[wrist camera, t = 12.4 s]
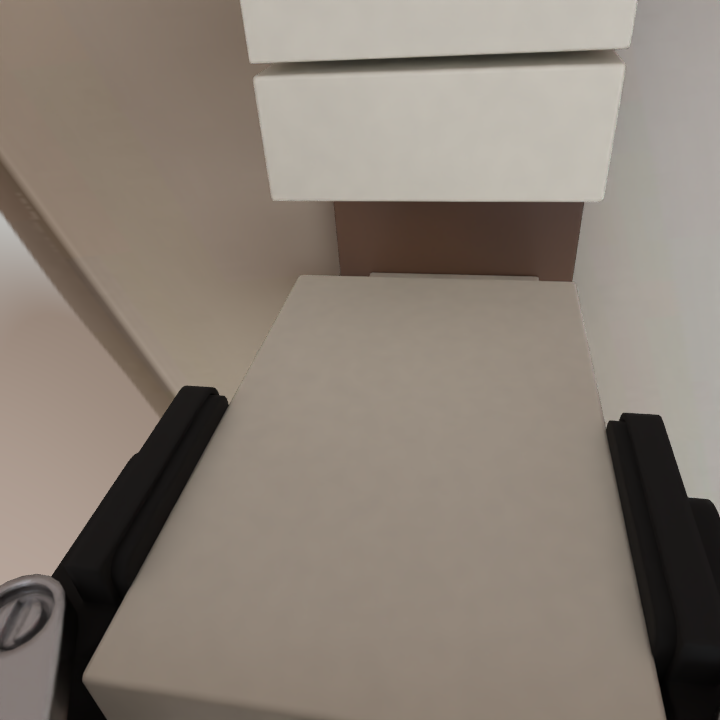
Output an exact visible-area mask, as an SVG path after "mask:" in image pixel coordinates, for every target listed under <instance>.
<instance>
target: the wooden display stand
mask: <svg viewBox="0 0 720 720" xmlns="http://www.w3.org/2000/svg"><path fill="white" fill-rule="evenodd" d="M637 3H638V0H240V5H241V11H242V18H243V24H244V30H245V37H246V43H247V50H248V56H249V61H250V63H252V64H261V63H273V64H272V65H270V66H269V67H268V68H266V69H265V70H263V71H262V72H260V73H259V74H257V75H256V76H254V78H253V84H254V90H255V97H256V103H257V109H258V116H259V122H260V129H261V135H262V141H263V148H264V154H265V161H266V167H267V174H268V180H269V186H270V193H271V198H272V200H274V201H334V210H335V221H336V231H337V242H338V252H339V263H340V273H341V276H365V277H404V278H443V279H482V280H521V281H560V282H572V280H573V273H574V266H575V260H576V253H577V246H578V240H579V233H580V227H581V220H582V213H583V207H584V202H601V201H602V200H603V199H604V195H605V190H606V184H607V178H608V172H609V166H610V160H611V154H612V148H613V142H614V136H615V131H616V125H617V119H618V113H619V107H620V101H621V95H622V89H623V83H624V78H625V72H626V65H625V63H624V61H623V60H622V59H621V58H620V57H619V55H618V54H617V53H616V52H615V50H614V49H627V48H629V47H630V45H631V39H632V33H633V27H634V21H635V15H636V9H637Z"/></svg>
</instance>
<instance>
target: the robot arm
mask: <svg viewBox="0 0 720 720" xmlns="http://www.w3.org/2000/svg"><path fill="white" fill-rule="evenodd" d="M228 406H229V405H228V401H227V398H226V397H225V396H220V395H219V393H218V391H217V390H216V388H213V387H199V386H184V387H182V388H181V390H180V391H179V392H178V394H177V395H176V397H175V398H174V400H173V401H172V403H171V404H170V406H169V407H168V409H167V410H166V412H165V413H164V415H163V416H162V418H161V419H160V421H159V423H158V424H157V425H156V427H155V429H154V430H153V432H152V433H151V435H150V436H149V438H148V439H147V441H146V442H145V444H144V445H143V447H142V448H141V450H140V451H139V452H138V453H137V454H135V455H134V456H133V457H132V458H131V459H130V460H129V461H128V463H127V464H126V466H125V467H124V469H123V470H122V472H121V473H120V475H119V476H118V478H117V480H116V481H115V482H114V484H113V485H112V487H111V488H110V490H109V491H108V493H107V494H106V496H105V497H104V499H103V500H102V502H101V503H100V505H99V506H98V508H97V509H96V511H95V512H94V514H93V515H92V517H91V518H90V520H89V521H88V523H87V524H86V526H85V527H84V529H83V530H82V531H81V533H80V534H79V536H78V537H77V539H76V540H75V542H74V543H73V545H72V547H71V548H70V549H69V551H68V552H67V554H66V555H65V557H64V558H63V560H62V561H61V563H60V564H59V566H58V568H57V569H56V570H55V572H54V573H53V575H52V576H46V575H41V574H34V575H26V576H21V577H19V578H16V579H13V580H10V581H7V582H6V583H4V584H2V585H1V586H0V720H107V719H106V717H105V716H104V714H103V713H102V711H101V710H100V708H99V707H98V705H97V703H96V702H95V700H94V699H93V697H92V696H91V694H90V693H89V691H88V690H87V688H86V686H85V685H84V683H83V682H82V677H83V673H84V671H85V669H86V667H87V666H88V664H89V662H90V660H91V658H92V656H93V654H94V653H95V651H96V649H97V647H98V645H99V643H100V642H101V640H102V638H103V636H104V634H105V632H106V631H107V629H108V627H109V625H110V623H111V621H112V619H113V618H114V616H115V614H116V612H117V610H118V608H119V607H120V605H121V603H122V601H123V599H124V597H125V596H126V594H127V592H128V590H129V588H130V587H131V585H132V583H133V581H134V580H135V578H136V576H137V574H138V572H139V570H140V568H141V567H142V565H143V563H144V561H145V559H146V557H147V556H148V554H149V552H150V550H151V548H152V546H153V544H154V543H155V541H156V539H157V537H158V535H159V533H160V532H161V530H162V528H163V526H164V524H165V522H166V520H167V519H168V517H169V515H170V513H171V511H172V509H173V508H174V506H175V504H176V502H177V500H178V498H179V496H180V495H181V493H182V491H183V489H184V487H185V485H186V484H187V482H188V480H189V478H190V476H191V474H192V472H193V471H194V469H195V467H196V465H197V463H198V461H199V460H200V458H201V456H202V454H203V452H204V450H205V448H206V447H207V445H208V443H209V441H210V439H211V437H212V436H213V434H214V432H215V430H216V428H217V426H218V424H219V423H220V421H221V419H222V417H223V415H224V413H225V411H226V410H227V408H228ZM606 434H607V439H608V444H609V449H610V454H611V458H612V463H613V468H614V473H615V478H616V483H617V487H618V492H619V497H620V502H621V507H622V512H623V516H624V521H625V526H626V531H627V536H628V541H629V545H630V550H631V555H632V560H633V565H634V570H635V575H636V579H637V584H638V589H639V594H640V599H641V604H642V608H643V613H644V618H645V623H646V628H647V633H648V637H649V642H650V647H651V652H652V655H653V658H654V661H655V666H656V671H657V676H658V681H659V685H660V690H661V695H662V700H663V705H664V709H665V714H666V719H667V720H720V517H719V514H718V512H717V510H716V507H715V505H714V504H713V503H712V502H711V501H710V500H708V499H699V498H688V497H687V494H686V491H685V488H684V485H683V481H682V478H681V475H680V472H679V469H678V466H677V463H676V460H675V457H674V454H673V451H672V447H671V444H670V441H669V438H668V435H667V432H666V429H665V426H664V423H663V420H662V418H661V416H659V415H652V414H636V413H622V415H621V417H620V420H619V421H609V422H608V424H607V428H606Z"/></svg>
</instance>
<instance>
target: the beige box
mask: <svg viewBox="0 0 720 720" xmlns="http://www.w3.org/2000/svg"><path fill="white" fill-rule="evenodd" d="M82 682H83V683H84V685H85V686H86V688H87V690H88V691H89V693H90V694H91V696H92V697H93V699H94V700H95V702H96V703H97V705H98V707H99V708H100V710H101V711H102V713H103V714H104V716H105V717H106V719H107V720H667V719H666V714H665V709H664V705H663V700H662V695H661V690H660V685H659V681H658V676H657V671H656V666H655V661H654V658H653V655H652V652H651V647H650V642H649V637H648V633H647V628H646V623H645V618H644V613H643V608H642V604H641V599H640V594H639V589H638V584H637V579H636V575H635V570H634V565H633V560H632V555H631V550H630V545H629V541H628V536H627V531H626V526H625V521H624V516H623V512H622V507H621V502H620V497H619V492H618V487H617V483H616V478H615V473H614V468H613V463H612V458H611V454H610V449H609V444H608V439H607V434H606V426H605V421H604V416H603V412H602V407H601V402H600V397H599V392H598V388H597V383H596V378H595V373H594V368H593V364H592V359H591V354H590V349H589V344H588V340H587V335H586V330H585V325H584V320H583V316H582V311H581V306H580V301H579V296H578V291H577V287H576V283H574V282H560V281H521V280H482V279H443V278H404V277H365V276H326V275H300V276H299V277H298V279H297V281H296V283H295V284H294V286H293V288H292V290H291V292H290V294H289V295H288V297H287V299H286V301H285V303H284V305H283V306H282V308H281V310H280V312H279V314H278V316H277V318H276V319H275V321H274V323H273V325H272V327H271V329H270V330H269V332H268V334H267V336H266V338H265V340H264V341H263V343H262V345H261V347H260V349H259V351H258V353H257V354H256V356H255V358H254V360H253V362H252V364H251V365H250V367H249V369H248V371H247V373H246V375H245V376H244V378H243V380H242V382H241V384H240V386H239V387H238V389H237V391H236V393H235V395H234V397H233V399H232V400H231V402H230V404H229V406H228V408H227V410H226V411H225V413H224V415H223V417H222V419H221V421H220V423H219V424H218V426H217V428H216V430H215V432H214V434H213V436H212V437H211V439H210V441H209V443H208V445H207V447H206V448H205V450H204V452H203V454H202V456H201V458H200V460H199V461H198V463H197V465H196V467H195V469H194V471H193V472H192V474H191V476H190V478H189V480H188V482H187V484H186V485H185V487H184V489H183V491H182V493H181V495H180V496H179V498H178V500H177V502H176V504H175V506H174V508H173V509H172V511H171V513H170V515H169V517H168V519H167V520H166V522H165V524H164V526H163V528H162V530H161V532H160V533H159V535H158V537H157V539H156V541H155V543H154V544H153V546H152V548H151V550H150V552H149V554H148V556H147V557H146V559H145V561H144V563H143V565H142V567H141V568H140V570H139V572H138V574H137V576H136V578H135V580H134V581H133V583H132V585H131V587H130V588H129V590H128V592H127V594H126V596H125V597H124V599H123V601H122V603H121V605H120V607H119V608H118V610H117V612H116V614H115V616H114V618H113V619H112V621H111V623H110V625H109V627H108V629H107V631H106V632H105V634H104V636H103V638H102V640H101V642H100V643H99V645H98V647H97V649H96V651H95V653H94V654H93V656H92V658H91V660H90V662H89V664H88V666H87V667H86V669H85V671H84V673H83V677H82Z"/></svg>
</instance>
